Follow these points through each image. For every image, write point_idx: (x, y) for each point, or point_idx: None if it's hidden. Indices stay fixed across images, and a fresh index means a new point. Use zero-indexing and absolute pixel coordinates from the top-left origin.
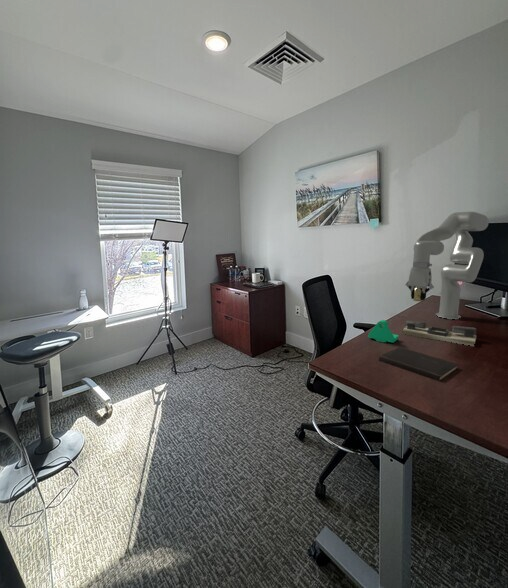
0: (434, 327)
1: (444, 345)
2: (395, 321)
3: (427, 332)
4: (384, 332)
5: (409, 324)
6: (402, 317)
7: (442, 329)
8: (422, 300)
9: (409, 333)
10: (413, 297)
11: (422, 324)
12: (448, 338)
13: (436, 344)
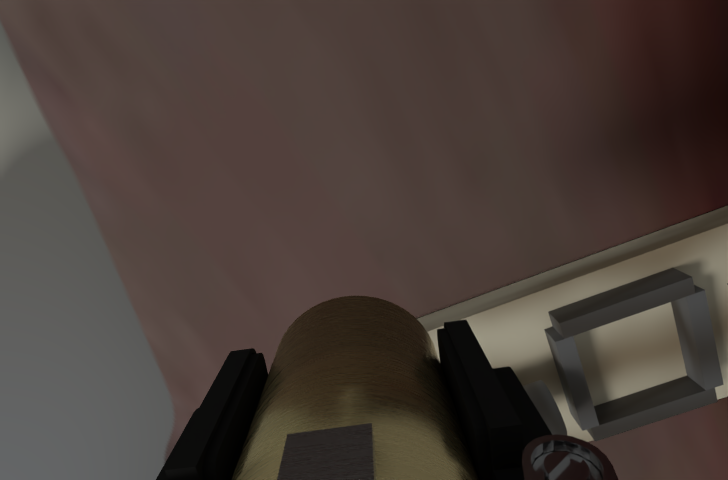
0: (590, 328)
1: (706, 447)
2: (158, 250)
3: (574, 416)
4: None
5: None
6: (76, 59)
7: (650, 304)
8: (435, 350)
9: None
10: None
11: None
12: (723, 393)
13: (664, 468)
